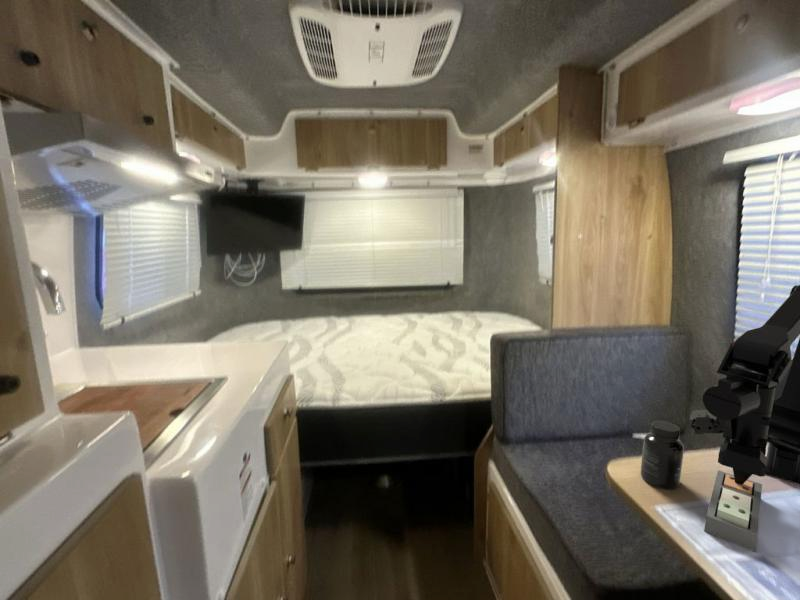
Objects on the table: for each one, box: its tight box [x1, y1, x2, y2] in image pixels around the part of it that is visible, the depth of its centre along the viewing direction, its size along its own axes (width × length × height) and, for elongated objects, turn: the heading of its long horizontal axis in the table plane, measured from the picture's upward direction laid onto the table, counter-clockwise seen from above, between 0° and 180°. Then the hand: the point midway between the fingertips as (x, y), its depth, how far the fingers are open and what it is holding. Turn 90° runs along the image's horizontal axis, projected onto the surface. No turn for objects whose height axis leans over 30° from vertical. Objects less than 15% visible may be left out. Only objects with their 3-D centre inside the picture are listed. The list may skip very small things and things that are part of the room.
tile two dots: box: [717, 498, 750, 529], centre depth 68 cm, size 4×4×3 cm
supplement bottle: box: [640, 420, 685, 490], centre depth 82 cm, size 7×7×12 cm
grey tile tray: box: [704, 470, 763, 552], centre depth 73 cm, size 17×7×3 cm, turn 137°
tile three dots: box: [724, 474, 753, 495], centre depth 76 cm, size 4×4×3 cm
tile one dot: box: [721, 488, 751, 508], centre depth 73 cm, size 4×4×3 cm
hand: (738, 482), depth 76 cm, fingers closed, pressing on tile three dots
